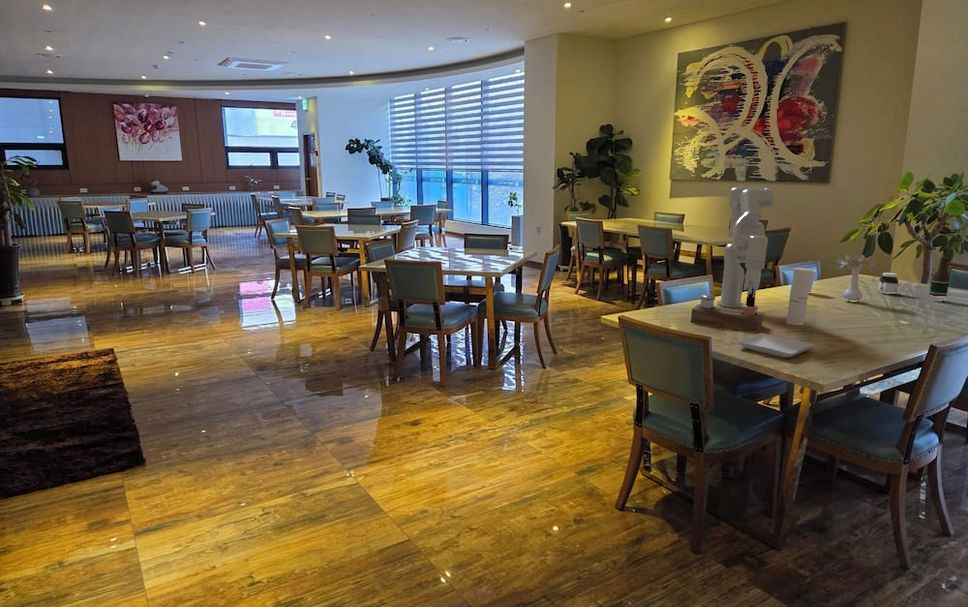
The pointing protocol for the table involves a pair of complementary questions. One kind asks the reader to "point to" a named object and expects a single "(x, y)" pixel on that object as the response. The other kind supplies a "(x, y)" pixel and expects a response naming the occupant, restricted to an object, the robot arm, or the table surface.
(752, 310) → the terracotta plunger
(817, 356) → the table surface
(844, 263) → the flower vase
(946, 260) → the beer bottle
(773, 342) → the salad plate
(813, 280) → the foam cup
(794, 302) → the white tall box
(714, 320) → the button stand
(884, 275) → the spread jar
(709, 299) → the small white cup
